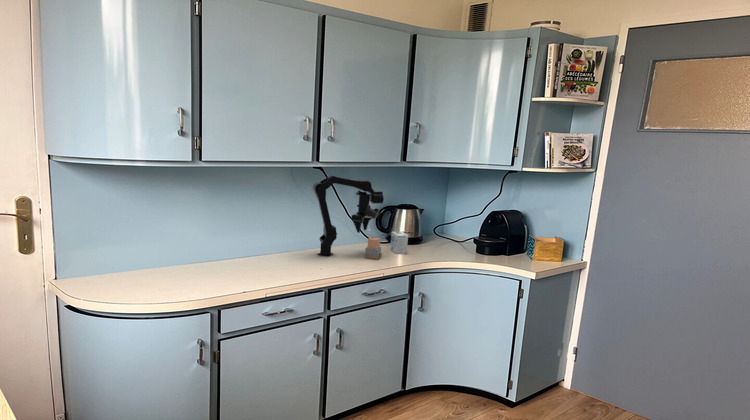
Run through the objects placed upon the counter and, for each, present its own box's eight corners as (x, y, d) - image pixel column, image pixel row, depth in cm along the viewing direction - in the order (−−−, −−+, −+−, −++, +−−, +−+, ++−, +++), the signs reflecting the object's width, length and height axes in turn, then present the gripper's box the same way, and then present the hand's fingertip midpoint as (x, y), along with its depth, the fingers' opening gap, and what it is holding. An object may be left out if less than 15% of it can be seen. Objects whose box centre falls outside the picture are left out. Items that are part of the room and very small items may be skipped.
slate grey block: (377, 255, 264) (378, 249, 264) (365, 253, 266) (365, 248, 265) (380, 252, 271) (381, 247, 270) (368, 250, 272) (368, 245, 272)
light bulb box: (389, 249, 290) (391, 231, 289) (400, 249, 292) (402, 231, 291) (396, 254, 280) (397, 235, 278) (407, 253, 282) (408, 235, 281)
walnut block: (377, 261, 264) (377, 255, 264) (364, 259, 266) (365, 253, 266) (381, 258, 271) (381, 252, 270) (369, 256, 273) (369, 250, 273)
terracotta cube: (376, 249, 265) (376, 240, 264) (367, 248, 266) (368, 238, 265) (379, 247, 269) (380, 238, 268) (371, 246, 271) (371, 237, 270)
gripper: (371, 206, 259) (368, 236, 261) (383, 203, 276) (381, 230, 279) (351, 204, 263) (349, 233, 265) (365, 200, 280) (363, 228, 283)
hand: (361, 231), depth 273 cm, fingers open, 9 cm apart
